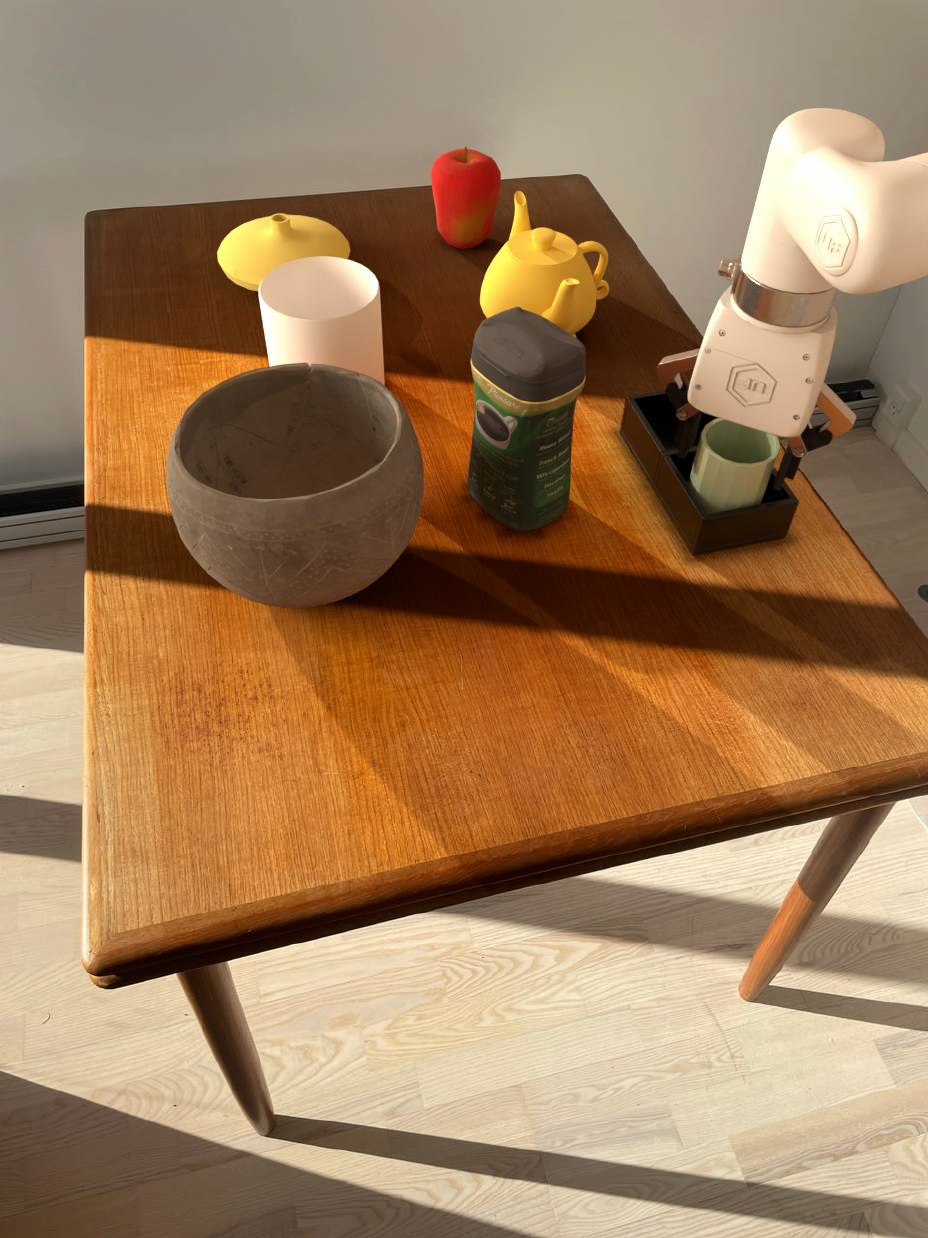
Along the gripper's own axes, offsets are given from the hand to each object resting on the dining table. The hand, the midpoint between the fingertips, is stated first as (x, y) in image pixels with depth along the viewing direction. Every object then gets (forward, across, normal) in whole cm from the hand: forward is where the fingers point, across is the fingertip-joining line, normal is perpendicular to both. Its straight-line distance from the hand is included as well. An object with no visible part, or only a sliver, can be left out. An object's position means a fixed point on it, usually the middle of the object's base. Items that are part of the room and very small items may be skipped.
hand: (732, 464), depth 87 cm
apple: (+6, -44, +34) cm, 56 cm away
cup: (+6, -42, -2) cm, 43 cm away
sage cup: (+5, 0, 0) cm, 5 cm away
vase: (+6, -60, +16) cm, 62 cm away
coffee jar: (+6, -18, -8) cm, 20 cm away
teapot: (+6, -28, +20) cm, 35 cm away
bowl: (+6, -30, -24) cm, 39 cm away
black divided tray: (+6, -3, +3) cm, 7 cm away
